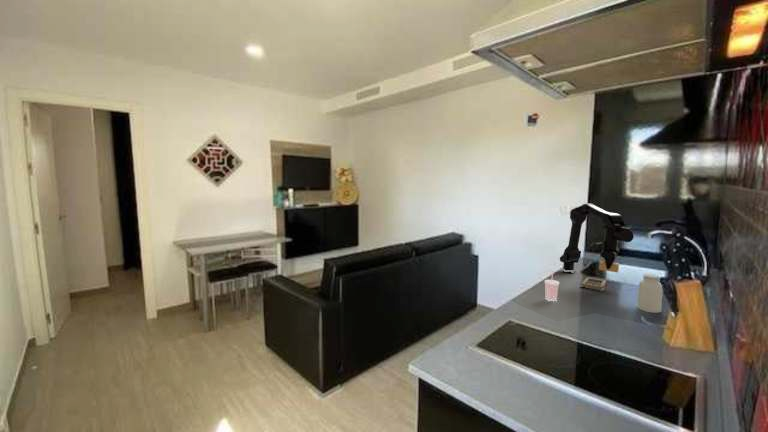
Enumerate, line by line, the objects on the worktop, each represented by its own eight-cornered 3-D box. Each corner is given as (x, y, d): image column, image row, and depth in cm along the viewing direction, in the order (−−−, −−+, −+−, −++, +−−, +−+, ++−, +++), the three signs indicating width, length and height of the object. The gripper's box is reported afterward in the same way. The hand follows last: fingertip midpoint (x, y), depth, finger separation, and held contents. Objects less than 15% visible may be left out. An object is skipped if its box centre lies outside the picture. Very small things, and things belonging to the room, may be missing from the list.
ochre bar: (598, 269, 170) (599, 262, 170) (600, 268, 173) (600, 260, 173) (617, 272, 165) (618, 264, 165) (618, 270, 168) (619, 263, 168)
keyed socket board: (585, 280, 183) (585, 276, 182) (607, 284, 176) (607, 280, 176) (580, 287, 171) (580, 283, 171) (602, 291, 164) (603, 287, 164)
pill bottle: (639, 305, 146) (642, 272, 145) (663, 310, 140) (666, 276, 139) (634, 309, 141) (637, 275, 140) (658, 315, 135) (661, 279, 134)
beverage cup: (540, 299, 154) (542, 269, 152) (550, 297, 156) (551, 268, 155) (551, 303, 148) (553, 273, 147) (561, 301, 151) (563, 271, 149)
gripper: (595, 234, 180) (592, 261, 182) (589, 239, 165) (587, 269, 167) (620, 236, 173) (617, 265, 174) (616, 242, 158) (613, 273, 160)
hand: (608, 268), depth 169 cm, fingers closed on ochre bar, 4 cm apart
